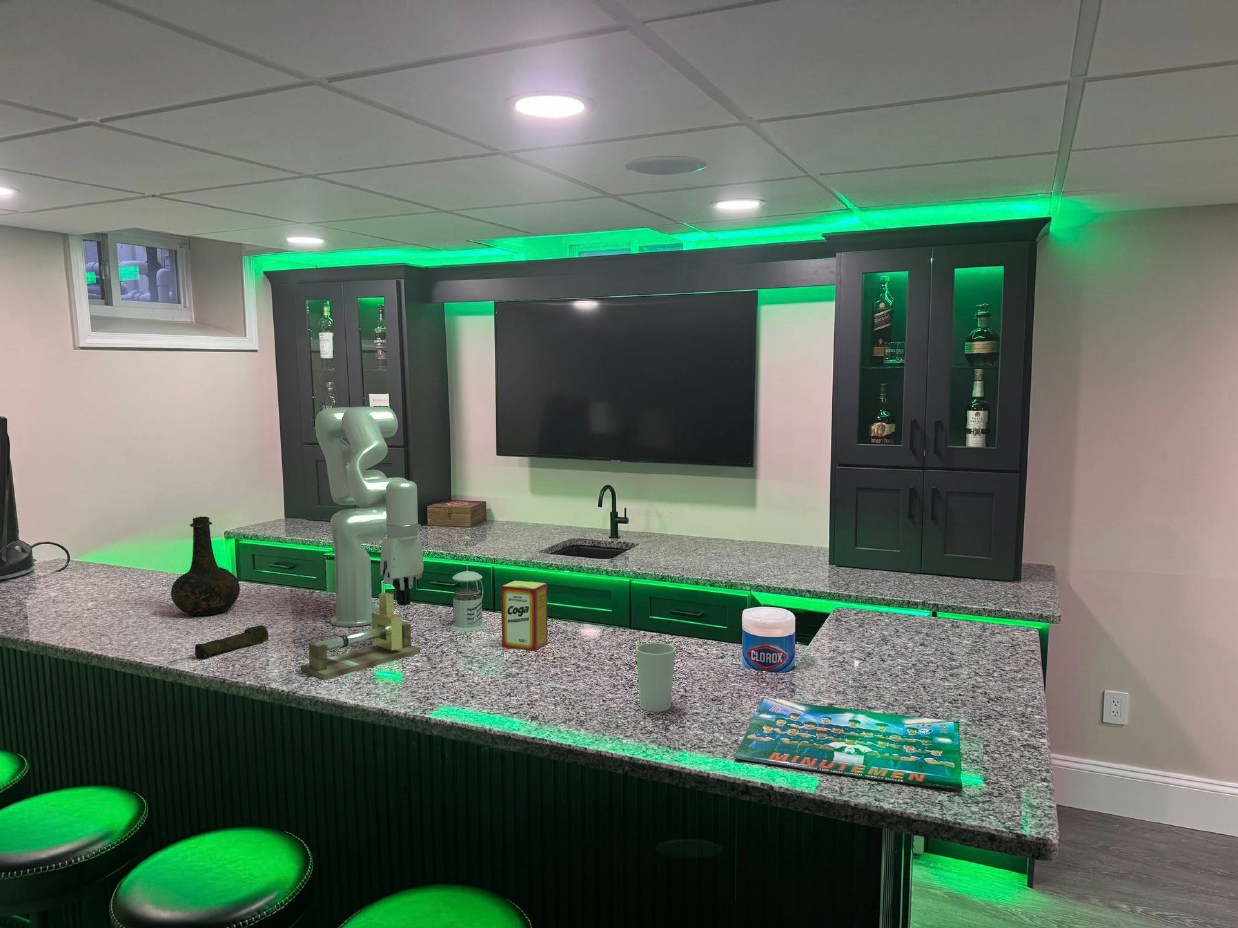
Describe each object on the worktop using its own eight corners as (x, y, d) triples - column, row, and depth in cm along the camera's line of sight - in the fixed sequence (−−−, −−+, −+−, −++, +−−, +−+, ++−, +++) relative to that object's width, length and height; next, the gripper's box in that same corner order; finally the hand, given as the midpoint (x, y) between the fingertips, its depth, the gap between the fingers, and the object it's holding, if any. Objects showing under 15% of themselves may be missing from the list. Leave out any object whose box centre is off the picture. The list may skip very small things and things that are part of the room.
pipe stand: (396, 645, 216) (395, 618, 215) (420, 652, 209) (419, 625, 209) (300, 670, 196) (299, 641, 195) (324, 679, 189) (323, 649, 189)
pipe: (400, 630, 212) (400, 619, 212) (407, 632, 210) (407, 621, 210) (312, 652, 194) (312, 640, 194) (319, 655, 192) (318, 643, 192)
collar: (382, 641, 211) (381, 590, 210) (402, 647, 206) (401, 595, 205) (372, 643, 209) (371, 592, 208) (391, 650, 204) (390, 597, 203)
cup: (634, 699, 177) (634, 643, 176) (671, 698, 178) (672, 642, 177) (638, 713, 169) (638, 654, 168) (677, 712, 170) (678, 653, 169)
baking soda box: (502, 646, 214) (501, 584, 213) (514, 639, 220) (513, 579, 219) (535, 651, 211) (535, 587, 209) (547, 643, 217) (547, 582, 215)
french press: (442, 629, 230) (441, 537, 228) (465, 618, 241) (464, 531, 239) (473, 633, 227) (472, 540, 225) (496, 622, 237) (495, 533, 235)
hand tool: (202, 661, 203) (202, 642, 203) (193, 658, 205) (193, 639, 205) (274, 643, 218) (274, 625, 218) (265, 640, 221) (265, 622, 220)
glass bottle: (253, 607, 254) (250, 514, 252) (206, 622, 237) (202, 523, 235) (206, 602, 260) (203, 511, 257) (157, 617, 243) (153, 519, 240)
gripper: (417, 526, 217) (419, 596, 219) (367, 533, 206) (368, 607, 207) (436, 529, 212) (437, 601, 214) (385, 536, 201) (387, 612, 202)
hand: (403, 604), depth 211 cm, fingers closed
